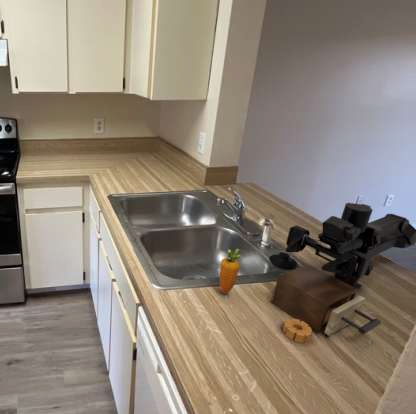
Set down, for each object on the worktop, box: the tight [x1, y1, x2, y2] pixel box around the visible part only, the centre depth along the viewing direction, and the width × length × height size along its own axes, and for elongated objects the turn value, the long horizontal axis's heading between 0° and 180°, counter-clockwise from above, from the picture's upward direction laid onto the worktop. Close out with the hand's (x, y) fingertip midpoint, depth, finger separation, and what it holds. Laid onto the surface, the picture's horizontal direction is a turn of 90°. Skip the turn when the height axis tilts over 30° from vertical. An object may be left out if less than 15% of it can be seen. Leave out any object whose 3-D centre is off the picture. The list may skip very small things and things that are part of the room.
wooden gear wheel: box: [282, 317, 313, 344], centre depth 81 cm, size 6×6×2 cm
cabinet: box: [270, 263, 359, 334], centre depth 87 cm, size 13×13×9 cm
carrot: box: [219, 248, 242, 295], centre depth 92 cm, size 5×5×15 cm
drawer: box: [322, 295, 382, 336], centre depth 83 cm, size 17×12×7 cm
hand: (303, 258), depth 81 cm, fingers open, 9 cm apart
